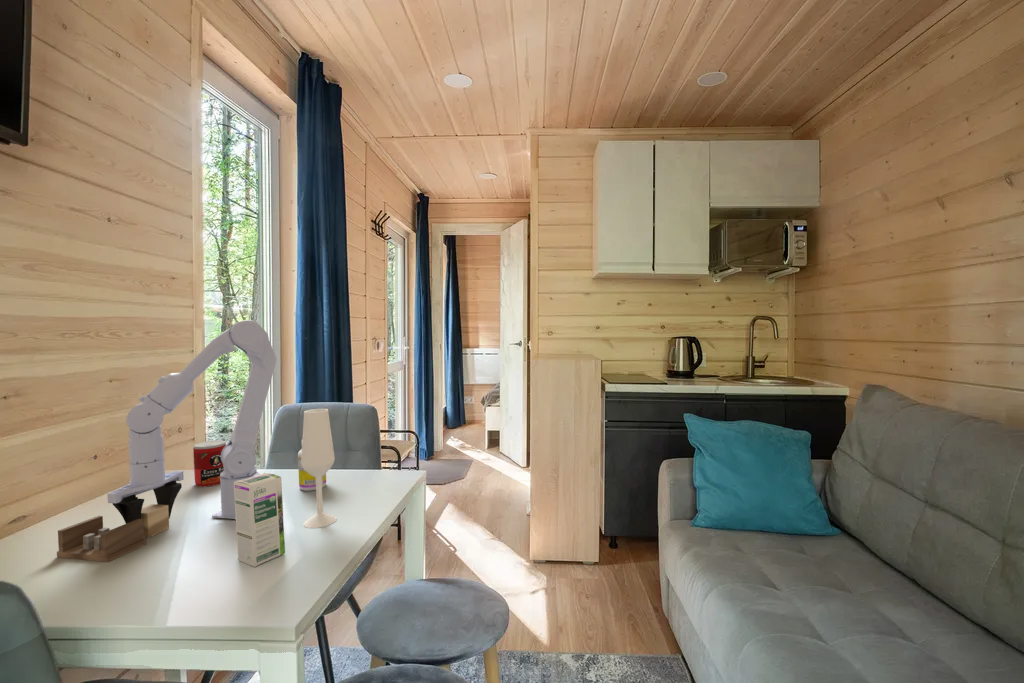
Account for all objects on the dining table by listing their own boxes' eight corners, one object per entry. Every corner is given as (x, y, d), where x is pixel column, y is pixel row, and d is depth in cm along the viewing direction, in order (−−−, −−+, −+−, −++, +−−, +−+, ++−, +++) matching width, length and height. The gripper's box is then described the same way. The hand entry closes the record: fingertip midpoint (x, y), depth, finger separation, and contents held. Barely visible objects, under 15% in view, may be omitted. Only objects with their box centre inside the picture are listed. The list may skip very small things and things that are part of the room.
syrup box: (254, 568, 80) (251, 485, 79) (236, 560, 83) (233, 479, 82) (285, 554, 84) (282, 475, 84) (267, 547, 88) (264, 471, 87)
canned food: (201, 489, 123) (199, 448, 123) (190, 483, 128) (188, 444, 128) (232, 481, 129) (230, 442, 129) (220, 476, 134) (219, 438, 134)
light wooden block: (169, 528, 98) (168, 505, 98) (148, 537, 93) (147, 513, 93) (152, 527, 99) (151, 504, 99) (130, 536, 94) (129, 512, 94)
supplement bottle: (317, 481, 127) (315, 435, 126) (331, 485, 123) (329, 438, 122) (294, 488, 121) (292, 440, 121) (307, 493, 117) (306, 443, 117)
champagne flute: (340, 522, 98) (336, 410, 98) (305, 530, 94) (301, 414, 94) (333, 512, 104) (329, 406, 103) (300, 520, 100) (296, 410, 100)
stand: (146, 544, 90) (145, 519, 90) (108, 561, 83) (106, 534, 83) (97, 540, 93) (96, 515, 93) (56, 557, 86) (55, 530, 86)
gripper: (164, 451, 104) (166, 510, 104) (93, 470, 90) (97, 539, 90) (190, 451, 102) (192, 512, 102) (122, 471, 88) (126, 541, 88)
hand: (150, 525), depth 96 cm, fingers open, 6 cm apart
